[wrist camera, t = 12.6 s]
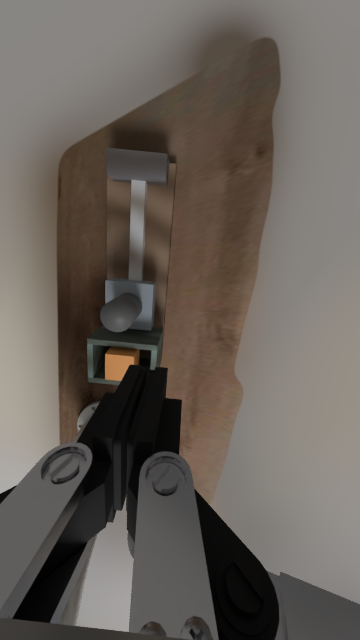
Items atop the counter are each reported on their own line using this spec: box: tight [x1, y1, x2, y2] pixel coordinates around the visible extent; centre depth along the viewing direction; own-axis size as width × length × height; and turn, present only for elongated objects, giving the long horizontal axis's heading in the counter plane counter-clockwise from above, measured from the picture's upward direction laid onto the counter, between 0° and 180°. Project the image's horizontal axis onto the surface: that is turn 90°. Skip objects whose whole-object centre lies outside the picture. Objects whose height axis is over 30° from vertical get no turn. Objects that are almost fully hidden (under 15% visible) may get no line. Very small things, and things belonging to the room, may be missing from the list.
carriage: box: [100, 278, 156, 332], centre depth 32 cm, size 7×7×10 cm
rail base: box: [87, 148, 177, 385], centre depth 33 cm, size 32×10×10 cm, turn 174°
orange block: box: [105, 346, 140, 381], centre depth 33 cm, size 4×4×4 cm
